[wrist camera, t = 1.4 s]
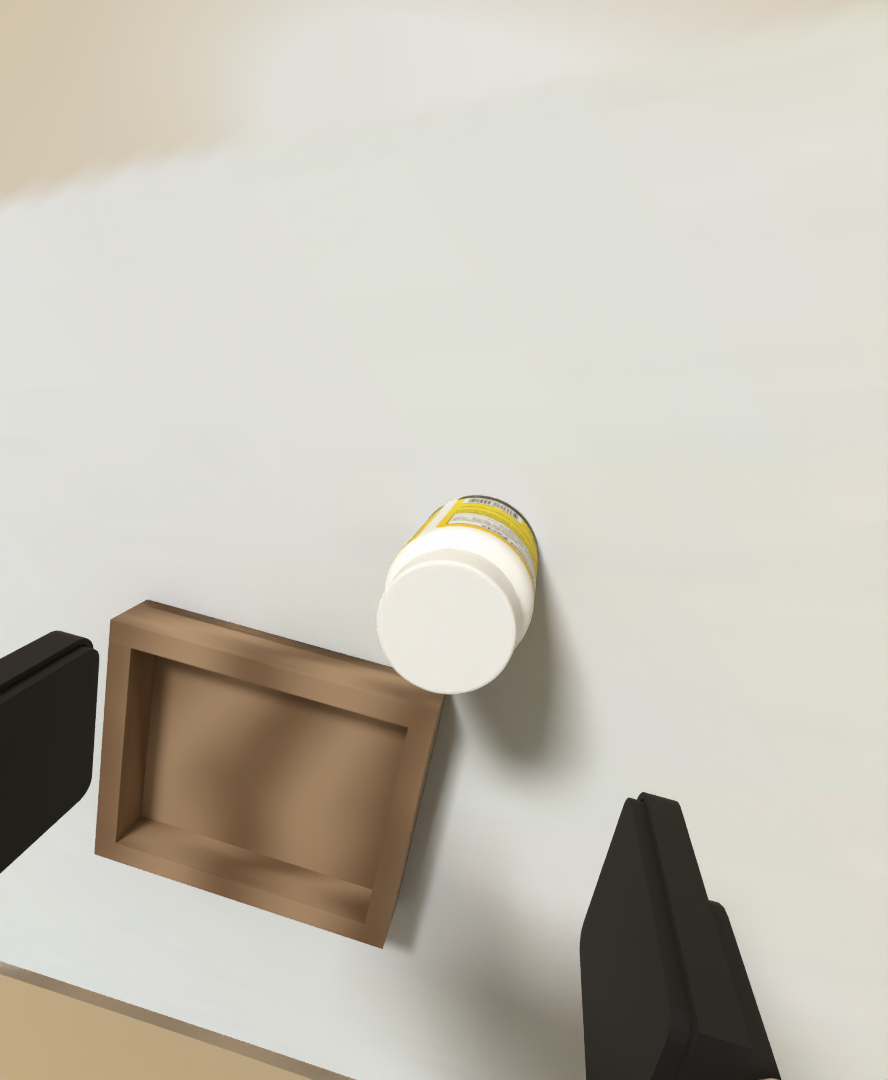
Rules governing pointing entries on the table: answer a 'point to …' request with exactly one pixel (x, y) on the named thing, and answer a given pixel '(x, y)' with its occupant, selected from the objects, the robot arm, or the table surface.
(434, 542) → the supplement bottle
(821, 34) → the table surface
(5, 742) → the robot arm
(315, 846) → the tray
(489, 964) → the table surface
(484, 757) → the table surface
